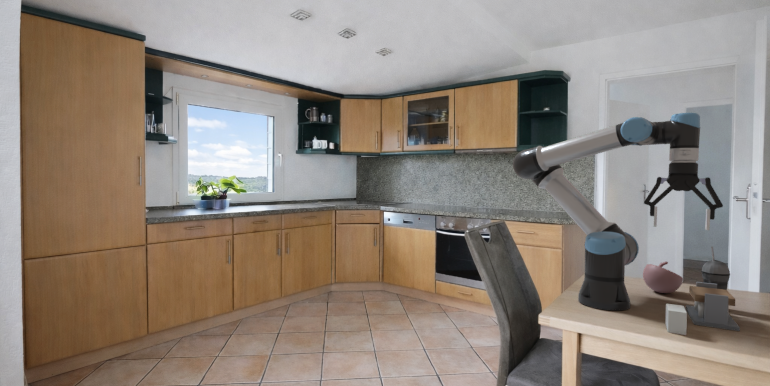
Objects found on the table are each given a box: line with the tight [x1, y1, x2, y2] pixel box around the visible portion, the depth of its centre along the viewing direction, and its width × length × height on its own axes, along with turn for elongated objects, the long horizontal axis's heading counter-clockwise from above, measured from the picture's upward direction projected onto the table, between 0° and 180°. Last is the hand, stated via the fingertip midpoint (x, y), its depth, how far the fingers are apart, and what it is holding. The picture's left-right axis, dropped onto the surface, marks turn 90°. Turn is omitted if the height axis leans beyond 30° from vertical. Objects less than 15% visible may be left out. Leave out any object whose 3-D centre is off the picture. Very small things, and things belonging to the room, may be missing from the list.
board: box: [689, 285, 736, 307], centre depth 119 cm, size 9×11×2 cm
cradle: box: [685, 281, 741, 332], centre depth 119 cm, size 10×17×9 cm, turn 149°
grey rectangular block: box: [664, 303, 688, 336], centre depth 110 cm, size 4×7×6 cm, turn 149°
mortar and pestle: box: [642, 261, 684, 294], centre depth 146 cm, size 12×12×11 cm
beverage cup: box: [700, 245, 731, 291], centre depth 128 cm, size 7×7×20 cm
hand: (680, 228), depth 129 cm, fingers open, 13 cm apart
